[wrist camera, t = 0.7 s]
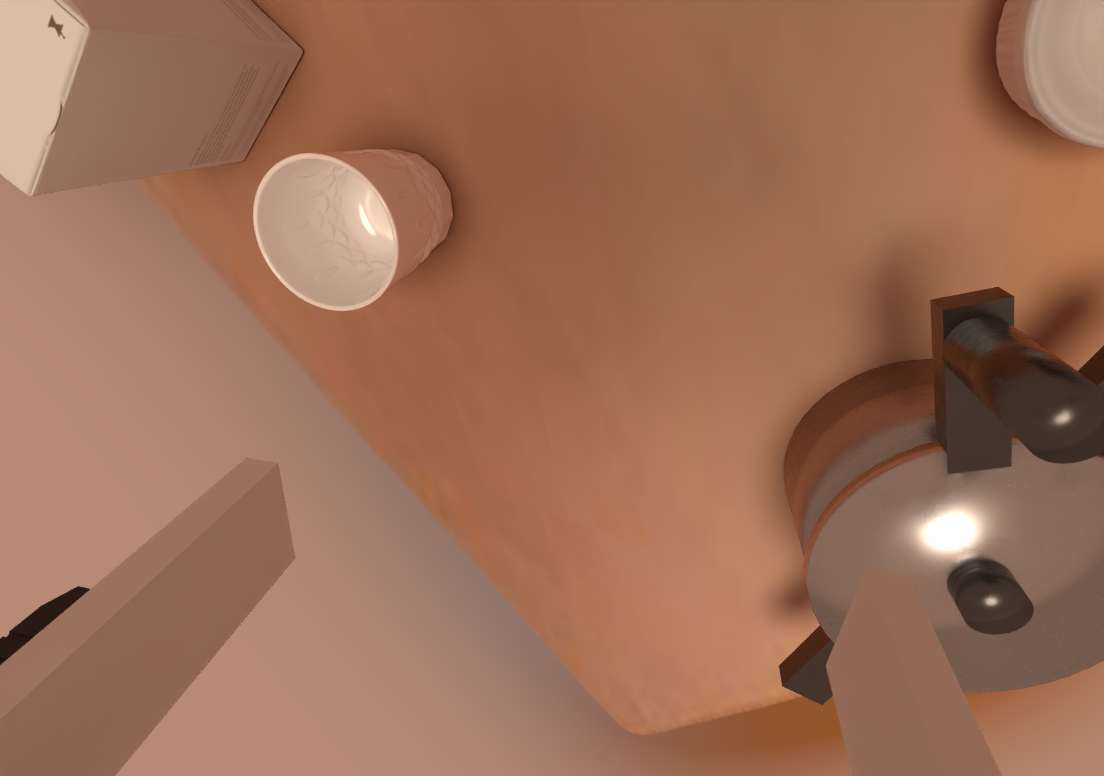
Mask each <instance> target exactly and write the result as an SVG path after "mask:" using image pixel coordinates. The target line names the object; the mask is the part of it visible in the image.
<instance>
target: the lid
mask: <svg viewBox="0 0 1104 776" xmlns="http://www.w3.org/2000/svg"><path fill="white" fill-rule="evenodd" d="M930 301H931V326H932V350H933V374H934V399H935V423H936V441H934V442H930V443H927V444H923V445H919V446H916V447H914V448H911V449H909V450H906V451H904V452H901V453H899V454H896V455H894V456H892V457H890V458H888V459H886V460H884V461H882V462H880V463H878V464H876V465H875V466H873V467H872V468H870V469H868V470H867V471H865V472H864V473H862V474H861V475H859V476H858V477H856V478H855V479H854V480H853V481H852V482H850V483H849V484H848V485H847V486H846V487H845V488H843V489H842V490H841V491H840V492H839V493H838V494H837V495H836V496H835V497H834V499H833V500H832V501H831V502H830V503H829V504H828V505H827V507H826V508H825V509H824V511H823V512H822V514H821V515H820V517H819V518H818V520H817V522H816V524H815V526H814V528H813V530H812V532H811V534H810V537H809V540H808V543H807V547H806V551H805V559H804V574H805V582H806V586H807V590H808V594H809V598H810V601H811V605H812V609H813V611H814V613H815V616H816V618H817V620H818V622H819V624H820V625H821V627H822V628H823V630H824V631H825V633H826V634H827V636H828V637H829V638H830V639H831V640H832V641H833V642H834V643H835V642H836V639H837V637H838V635H839V632H840V630H841V627H842V625H843V622H844V620H845V618H846V615H847V613H848V610H849V608H850V606H851V603H852V601H853V598H854V596H855V593H856V591H857V589H858V586H859V584H860V581H861V579H862V576H863V574H864V572H865V569H866V568H867V569H872V570H878V571H884V572H889V573H895V574H900V575H906V576H909V577H910V579H911V582H912V584H913V586H914V588H915V590H916V592H917V594H918V597H919V599H920V601H921V603H922V605H923V607H924V610H925V612H926V614H927V616H928V618H929V620H930V622H931V625H932V627H933V629H934V631H935V633H936V635H937V637H938V640H939V642H940V644H941V646H942V648H943V650H944V653H945V655H946V657H947V659H948V661H949V663H950V665H951V668H952V670H953V672H954V674H955V676H956V678H957V680H958V683H959V685H960V687H961V689H962V691H963V692H974V693H982V692H997V691H1008V690H1015V689H1022V688H1027V687H1032V686H1036V685H1041V684H1045V683H1049V682H1052V681H1055V680H1059V679H1062V678H1065V677H1068V676H1071V675H1073V674H1076V673H1078V672H1081V671H1083V670H1085V669H1088V668H1090V667H1092V666H1094V665H1096V664H1097V663H1100V662H1102V661H1103V660H1104V456H1103V455H1101V453H1102V452H1104V389H1102V388H1101V387H1099V386H1098V385H1097V384H1095V383H1094V382H1092V381H1091V380H1089V379H1088V378H1087V377H1085V376H1084V375H1082V374H1081V373H1079V372H1078V371H1076V370H1075V369H1074V368H1072V367H1071V366H1069V365H1068V364H1066V363H1065V362H1064V361H1062V360H1061V359H1059V358H1058V357H1056V356H1055V355H1054V354H1052V353H1051V352H1049V351H1048V350H1046V349H1045V348H1043V347H1042V346H1041V345H1039V344H1038V343H1036V342H1035V341H1033V340H1032V339H1031V338H1029V337H1028V336H1026V335H1025V334H1023V333H1022V332H1020V331H1019V330H1018V329H1016V328H1015V327H1014V296H1012V295H1011V294H1009V293H1007V292H1006V291H1004V290H1002V289H1001V288H999V287H995V288H990V289H985V290H979V291H974V292H969V293H964V294H959V295H954V296H949V297H943V298H938V299H933V300H930Z"/></svg>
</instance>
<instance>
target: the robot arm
mask: <svg viewBox="0 0 1104 776" xmlns="http://www.w3.org/2000/svg"><path fill="white" fill-rule="evenodd" d="M294 559H295V554H294V548H293V543H292V537H291V532H290V526H289V520H288V516H287V509H286V504H285V498H284V493H283V487H282V482H281V476H280V471H279V465H278V463H274V462H268V461H263V460H257V459H251V458H246V459H245V460H243V461H242V462H241V463H240V464H238V465H237V466H236V467H235V468H234V469H233V470H231V471H230V472H229V473H228V474H227V475H225V476H224V477H223V478H222V479H221V480H220V481H218V482H217V483H216V484H215V485H213V486H212V487H211V488H210V489H209V490H208V491H206V492H205V493H204V494H203V495H202V496H200V497H199V498H198V499H197V500H196V501H195V502H193V503H192V504H191V505H190V506H189V507H187V508H186V509H185V510H184V511H183V512H181V513H180V514H179V515H178V516H177V517H176V518H174V519H173V520H172V521H171V522H170V523H168V524H167V525H166V526H165V527H164V528H162V529H161V530H160V531H159V532H158V533H157V534H155V535H154V536H153V537H152V538H151V539H149V540H148V541H147V542H146V543H145V544H144V545H142V546H141V547H140V548H139V549H138V550H136V551H135V552H134V553H133V554H132V555H130V556H129V557H128V558H127V559H126V560H125V561H124V562H122V563H121V564H120V565H119V566H117V567H116V568H115V569H114V570H113V571H112V572H110V573H109V574H108V575H107V576H106V577H104V578H103V579H102V580H101V581H100V582H98V583H97V584H96V585H95V586H94V587H93V588H91V589H88V588H84V587H79V586H78V587H76V588H74V589H73V590H70V591H69V592H67V593H65V594H63V595H61V596H59V597H57V598H55V599H54V600H52V601H50V602H48V603H46V604H44V605H42V606H40V607H39V608H38V609H37V610H36V611H34V612H33V613H32V614H31V615H29V616H28V617H27V618H26V619H24V620H23V621H22V622H21V623H19V624H18V625H17V626H16V627H14V628H13V629H12V630H11V631H9V635H8V636H7V637H2V638H1V639H0V776H115V775H116V774H117V773H118V772H119V770H120V769H121V768H122V767H123V766H124V764H125V763H126V762H127V761H128V759H129V758H130V757H131V756H132V755H133V754H134V752H135V751H136V750H137V748H138V747H139V746H140V745H141V744H142V743H143V741H144V740H145V739H146V738H147V737H148V735H149V734H150V733H151V732H152V731H153V729H154V728H155V727H156V726H157V725H158V723H159V722H160V721H161V720H162V718H163V717H164V716H165V715H166V714H167V712H168V711H169V710H170V709H171V708H172V706H173V705H174V704H175V703H176V702H177V700H178V699H179V698H180V697H181V696H182V694H183V693H184V692H185V691H186V689H187V688H188V687H189V686H190V685H191V683H192V682H193V681H194V680H195V679H196V677H197V676H198V675H199V674H200V673H201V671H202V670H203V669H204V668H205V667H206V665H207V664H208V663H209V662H210V660H211V659H212V658H213V657H214V656H215V654H216V653H217V652H218V651H219V650H220V648H221V647H222V646H223V645H224V643H225V642H226V641H227V640H228V639H229V638H230V636H231V635H232V634H233V633H234V631H235V630H236V629H237V628H238V627H239V625H240V624H241V623H242V622H243V621H244V619H245V618H246V617H247V616H248V615H249V613H250V612H251V611H252V610H253V608H254V607H255V606H256V605H257V603H258V602H259V601H260V600H261V599H262V598H263V596H264V595H265V594H266V593H267V591H268V590H269V589H270V588H271V587H272V586H273V584H274V583H275V582H276V581H277V580H278V578H279V577H280V576H281V575H282V573H283V572H284V571H285V570H286V569H287V567H288V566H289V565H290V564H291V563H292V561H293V560H294ZM826 669H827V673H828V677H829V681H830V685H831V689H832V693H833V697H834V701H835V705H836V709H837V713H838V717H839V722H840V725H841V729H842V733H843V738H844V742H845V746H846V750H847V754H848V758H849V761H850V766H851V770H852V774H853V776H1002V775H1001V773H1000V771H999V769H998V766H997V764H996V763H995V760H994V758H993V756H992V754H991V751H990V749H989V747H988V745H987V743H986V741H985V739H984V736H983V734H982V732H981V730H980V728H979V726H978V723H977V721H976V719H975V717H974V715H973V713H972V711H971V708H970V706H969V704H968V702H967V700H966V698H965V696H964V693H963V691H962V689H961V687H960V685H959V683H958V680H957V678H956V676H955V674H954V672H953V670H952V668H951V665H950V663H949V661H948V659H947V657H946V655H945V653H944V650H943V648H942V646H941V644H940V642H939V640H938V637H937V635H936V633H935V631H934V629H933V627H932V625H931V622H930V620H929V618H928V616H927V614H926V612H925V610H924V607H923V605H922V603H921V601H920V599H919V597H918V594H917V592H916V590H915V588H914V586H913V584H912V582H911V579H910V577H909V576H906V575H900V574H895V573H889V572H884V571H878V570H872V569H867V568H866V569H865V572H864V574H863V576H862V579H861V581H860V584H859V586H858V589H857V591H856V593H855V596H854V598H853V601H852V603H851V606H850V608H849V610H848V613H847V615H846V618H845V620H844V622H843V625H842V627H841V630H840V632H839V635H838V637H837V639H836V642H835V644H834V647H833V649H832V651H831V654H830V656H829V659H828V661H827V664H826Z"/></svg>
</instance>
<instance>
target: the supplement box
mask: <svg viewBox="0 0 1104 776" xmlns="http://www.w3.org/2000/svg"><path fill="white" fill-rule="evenodd" d="M302 53H303V50H302V49H301V48H300V47H299V46H298V45H297V44H296V43H295V42H294V41H293V40H292V39H291V38H290V37H289V36H288V35H287V34H286V33H284V32H283V31H282V30H281V29H280V28H279V27H278V26H277V25H276V24H275V23H274V22H273V21H272V20H271V19H270V18H269V17H268V16H267V15H266V14H264V13H263V12H262V11H261V10H260V9H259V8H258V7H257V6H256V5H255V4H254V3H253V2H252V1H251V0H0V174H1V175H3V176H4V177H5V178H6V179H8V180H9V181H10V182H11V183H13V184H14V185H15V186H16V187H18V188H19V189H20V190H22V191H23V192H24V193H25V194H27V195H28V196H30V197H32V196H36V195H41V194H46V193H52V192H58V191H64V190H70V189H75V188H81V187H88V186H94V185H100V184H106V183H112V182H119V181H125V180H131V179H137V178H143V177H149V176H155V175H161V174H167V173H173V172H180V171H185V170H191V169H198V168H204V167H210V166H216V165H222V164H228V163H234V162H241V161H244V159H245V158H246V156H247V154H248V152H249V150H250V148H251V147H252V145H253V143H254V141H255V139H256V138H257V136H258V134H259V132H260V130H261V129H262V127H263V125H264V123H265V121H266V120H267V118H268V116H269V114H270V112H271V110H272V109H273V107H274V105H275V103H276V101H277V100H278V98H279V96H280V94H281V92H282V91H283V89H284V87H285V85H286V83H287V81H288V80H289V78H290V76H291V74H292V72H293V71H294V69H295V67H296V65H297V63H298V61H299V60H300V58H301V56H302Z"/></svg>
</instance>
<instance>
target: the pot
mask: <svg viewBox="0 0 1104 776" xmlns="http://www.w3.org/2000/svg"><path fill="white" fill-rule="evenodd" d="M1078 372H1079V373H1081V374H1082V375H1084V376H1085V377H1087V378H1088V379H1089V380H1091V381H1092V382H1094V383H1095V384H1097V385H1098V386H1099V387H1101V388H1102V389H1104V346H1103V347H1102V348H1101V349H1100V350H1099V351H1098V352H1097V353H1096V354H1095V355H1094V356H1093V357H1092V358H1091V359H1090V360H1089V361H1088V362H1087V363H1086V364H1085V365H1084V366H1082V367H1081V368H1080V369H1079V370H1078ZM934 441H936V423H935V399H934V374H933V360H932V359H926V360H913V361H905V362H900V363H895V364H890V365H886V366H883V367H879V368H876V369H873V370H870V371H868V372H865V373H863V374H860V375H858V376H856V377H854V378H852V379H850V380H848V381H846V382H845V383H843V384H841V385H839V386H838V387H836V388H835V389H833V390H832V391H831V392H829V393H828V394H826V395H825V396H824V397H823V398H822V399H821V400H819V401H818V402H817V403H816V404H815V405H814V406H813V407H812V408H811V409H810V410H809V412H808V413H807V414H806V415H805V416H804V417H803V419H802V420H801V422H800V423H799V425H798V426H797V428H796V429H795V431H794V433H793V435H792V437H791V440H790V442H789V445H788V448H787V451H786V455H785V462H784V482H785V487H786V492H787V496H788V499H789V503H790V507H791V511H792V514H793V518H794V522H795V525H796V529H797V533H798V536H799V540H800V544H801V548H802V551H803V555H804V559H805V551H806V547H807V543H808V540H809V537H810V534H811V532H812V530H813V528H814V526H815V524H816V522H817V520H818V518H819V517H820V515H821V514H822V512H823V511H824V509H825V508H826V507H827V505H828V504H829V503H830V502H831V501H832V500H833V499H834V497H835V496H836V495H837V494H838V493H839V492H840V491H841V490H842V489H843V488H845V487H846V486H847V485H848V484H849V483H850V482H852V481H853V480H854V479H855V478H856V477H858V476H859V475H861V474H862V473H864V472H865V471H867V470H868V469H870V468H872V467H873V466H875V465H876V464H878V463H880V462H882V461H884V460H886V459H888V458H890V457H892V456H894V455H896V454H899V453H901V452H904V451H906V450H909V449H911V448H914V447H916V446H919V445H923V444H927V443H930V442H934ZM1101 455H1103V456H1104V452H1102V453H1101ZM834 644H835V643H834V642H833V641H832V640H831V639H830V638H829V637H828V636H827V634H826V633H825V631H824V630H823V628H822V627H821V625H820V626H819V627H818V628H817V629H816V630H815V631H814V632H813V633H812V634H811V635H810V636H809V637H808V638H807V639H806V640H805V641H804V642H803V643H802V644H801V645H800V646H799V647H798V648H797V649H796V650H795V651H794V652H793V653H792V654H791V655H790V656H789V657H787V658H786V659H785V660H784V661H783V662H782V663H781V664H780V665H779V669H780V675H781V681H782V686H783V687H785V688H787V689H789V690H792V691H794V692H796V693H798V694H800V695H802V696H804V697H806V698H808V699H811V700H813V701H815V702H817V703H819V704H821V705H823V704H824V703H825V702H826V701H827V700H828V699H830V697H832V696H833V693H832V689H831V685H830V681H829V677H828V673H827V669H826V664H827V661H828V659H829V656H830V654H831V651H832V649H833V647H834Z"/></svg>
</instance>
